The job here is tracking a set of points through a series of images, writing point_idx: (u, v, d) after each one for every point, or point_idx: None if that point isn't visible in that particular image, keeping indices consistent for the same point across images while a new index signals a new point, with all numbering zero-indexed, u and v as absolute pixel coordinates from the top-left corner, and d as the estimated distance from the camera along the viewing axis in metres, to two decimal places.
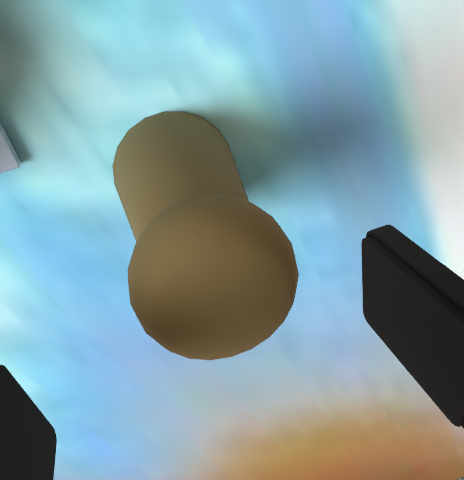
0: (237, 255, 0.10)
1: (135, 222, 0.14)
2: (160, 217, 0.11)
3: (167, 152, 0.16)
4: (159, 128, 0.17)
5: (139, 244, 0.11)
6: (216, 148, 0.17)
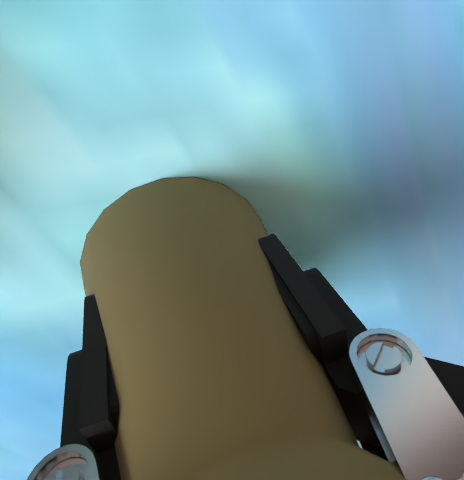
0: None
1: None
2: None
3: (172, 277, 0.08)
4: (155, 215, 0.10)
5: None
6: (256, 255, 0.10)
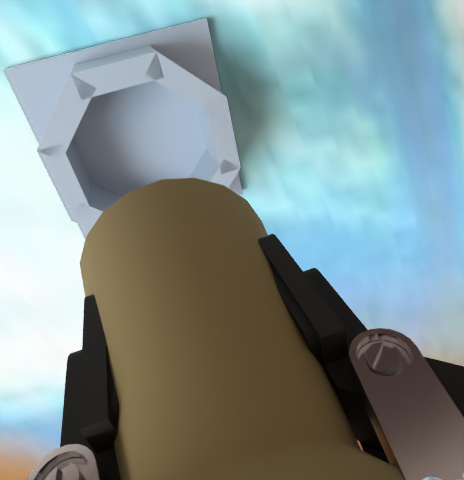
0: None
1: None
2: None
3: (172, 279, 0.08)
4: (155, 216, 0.10)
5: None
6: (256, 256, 0.10)
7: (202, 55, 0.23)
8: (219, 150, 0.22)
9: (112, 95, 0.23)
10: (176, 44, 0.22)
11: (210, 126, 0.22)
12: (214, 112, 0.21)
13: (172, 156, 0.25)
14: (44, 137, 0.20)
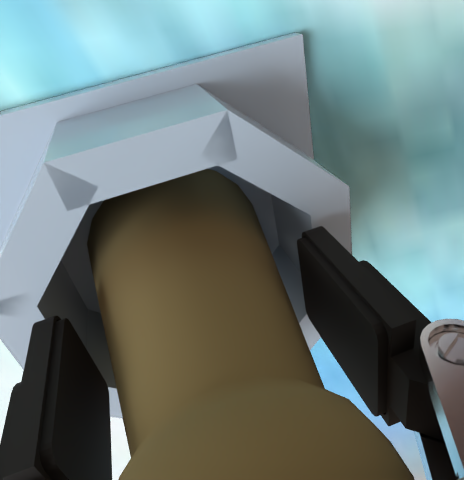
0: None
1: (117, 385, 0.09)
2: (160, 467, 0.06)
3: (166, 252, 0.10)
4: (152, 199, 0.11)
5: None
6: (242, 232, 0.11)
7: (288, 99, 0.13)
8: None
9: None
10: (245, 81, 0.12)
11: None
12: (323, 215, 0.11)
13: None
14: None
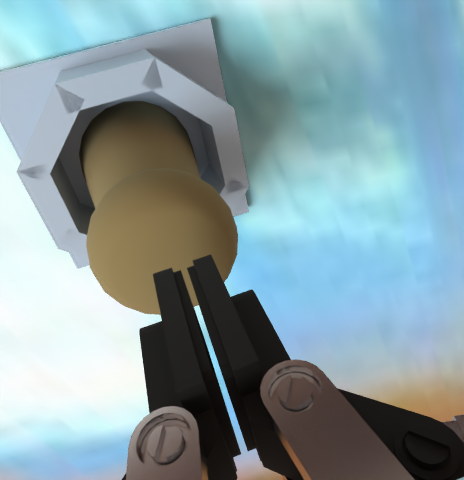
0: (176, 217, 0.12)
1: (96, 200, 0.16)
2: (111, 189, 0.13)
3: (123, 136, 0.17)
4: (118, 116, 0.19)
5: (94, 214, 0.13)
6: (170, 132, 0.18)
7: (205, 60, 0.20)
8: (225, 167, 0.20)
9: (104, 106, 0.20)
10: (176, 48, 0.20)
11: (215, 141, 0.19)
12: (219, 126, 0.19)
13: None
14: (25, 156, 0.17)
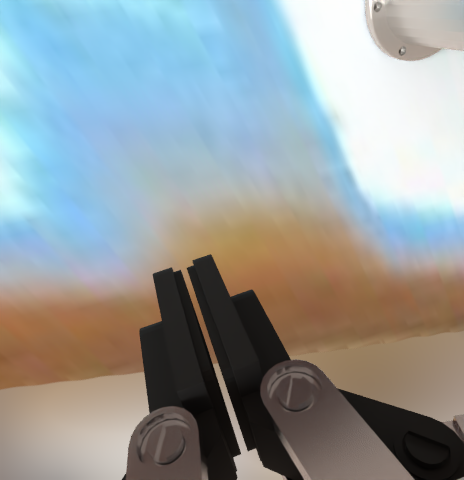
0: None
1: None
2: None
3: None
4: None
5: None
6: None
7: None
8: None
9: None
10: None
11: None
12: None
13: None
14: None
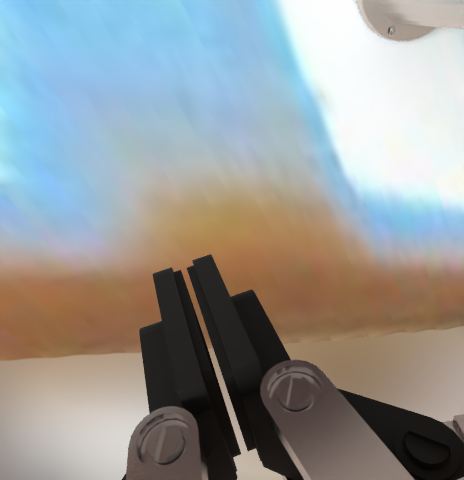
0: None
1: None
2: None
3: None
4: None
5: None
6: None
7: None
8: None
9: None
10: None
11: None
12: None
13: None
14: None
